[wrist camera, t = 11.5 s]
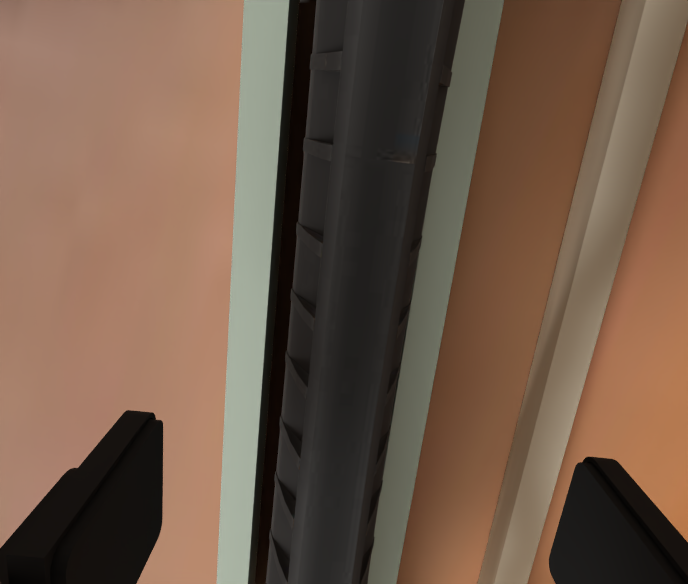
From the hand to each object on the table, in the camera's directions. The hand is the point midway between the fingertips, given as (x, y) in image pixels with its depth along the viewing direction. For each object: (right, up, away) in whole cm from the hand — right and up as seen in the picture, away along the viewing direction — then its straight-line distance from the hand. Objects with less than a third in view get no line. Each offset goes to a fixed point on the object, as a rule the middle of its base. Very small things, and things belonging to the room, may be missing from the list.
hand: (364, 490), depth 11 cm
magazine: (-1, +3, +9) cm, 10 cm away
